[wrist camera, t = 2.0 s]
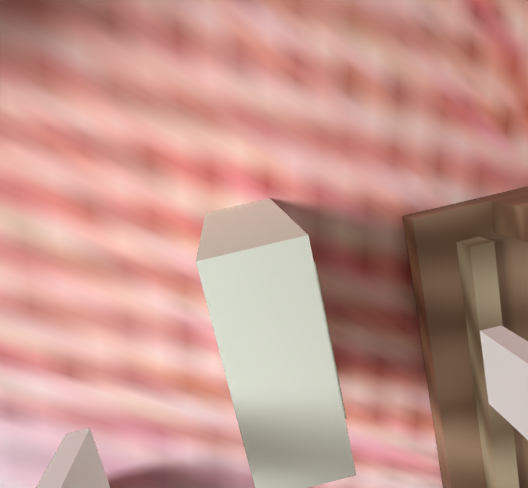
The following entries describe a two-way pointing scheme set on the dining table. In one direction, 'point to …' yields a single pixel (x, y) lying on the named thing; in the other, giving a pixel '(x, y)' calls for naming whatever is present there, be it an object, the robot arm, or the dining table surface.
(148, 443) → the dining table surface
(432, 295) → the wooden rack
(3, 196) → the dining table surface
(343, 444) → the cream rectangular block
